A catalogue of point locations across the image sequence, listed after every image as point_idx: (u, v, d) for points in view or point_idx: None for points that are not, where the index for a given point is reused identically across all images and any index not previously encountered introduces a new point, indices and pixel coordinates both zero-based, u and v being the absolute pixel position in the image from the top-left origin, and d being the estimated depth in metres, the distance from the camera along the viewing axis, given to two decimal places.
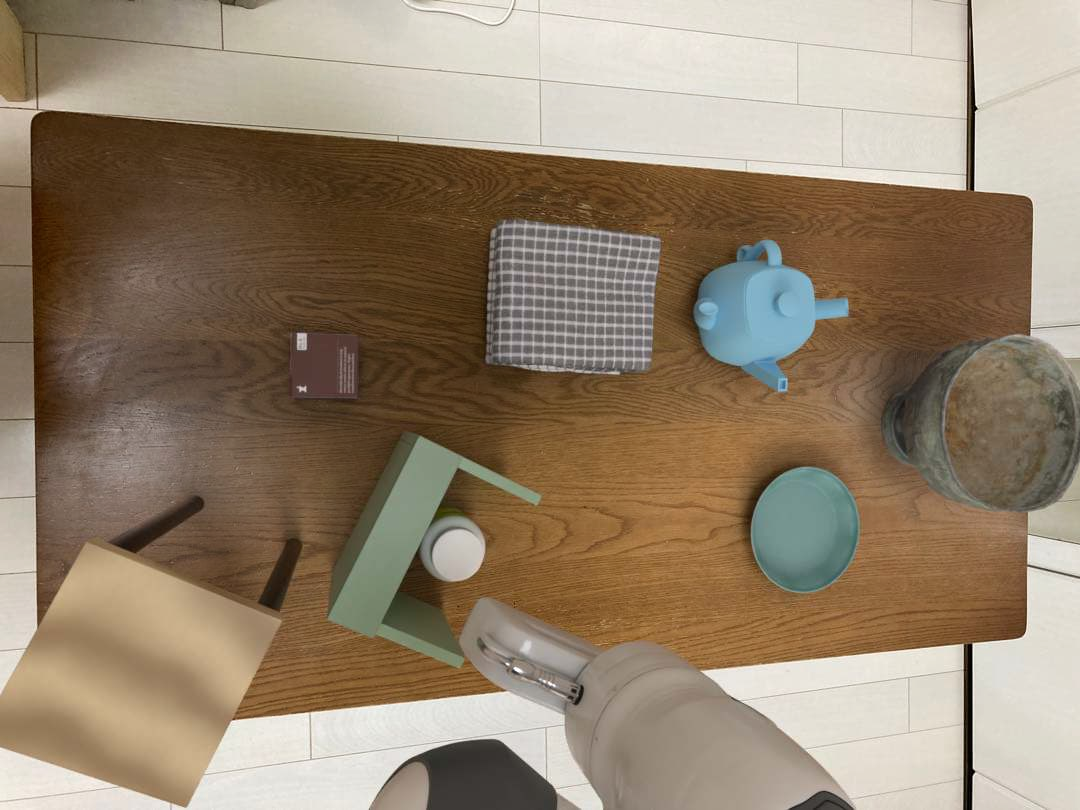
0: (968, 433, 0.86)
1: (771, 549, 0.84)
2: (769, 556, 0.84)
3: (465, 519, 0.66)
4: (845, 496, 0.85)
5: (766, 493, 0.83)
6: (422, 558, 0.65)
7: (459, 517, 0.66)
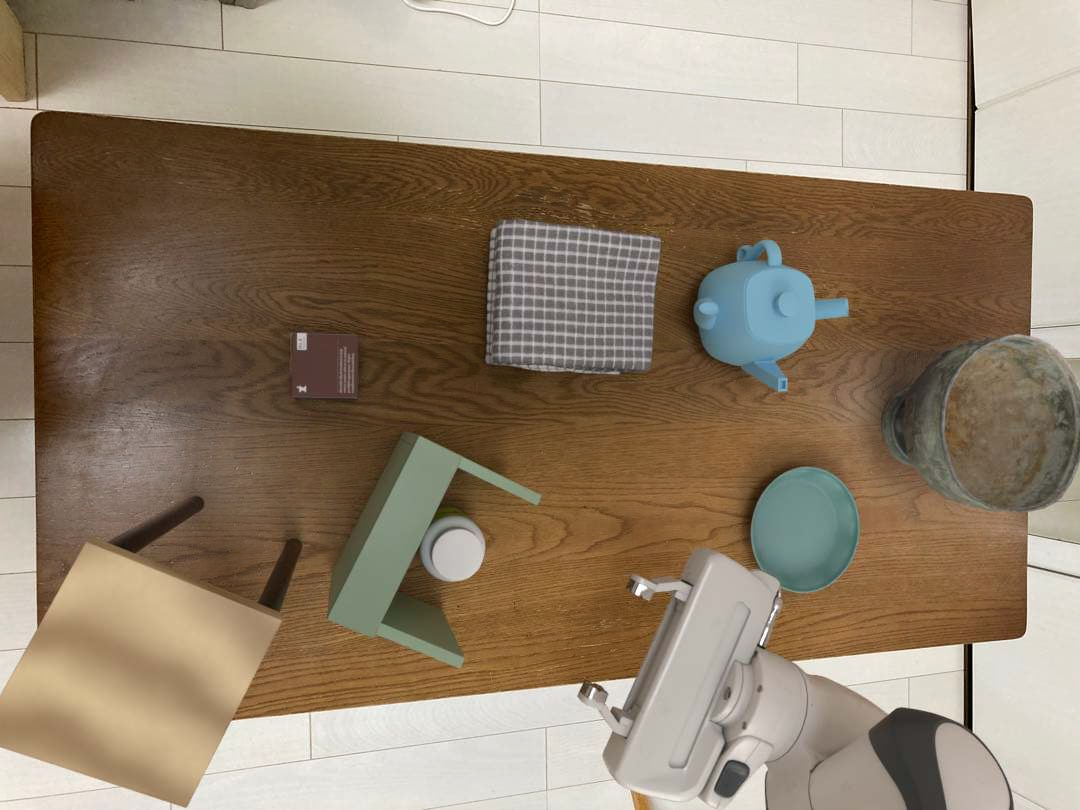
0: (968, 433, 0.86)
1: (771, 549, 0.84)
2: (769, 556, 0.84)
3: (465, 519, 0.66)
4: (845, 496, 0.85)
5: (766, 493, 0.83)
6: (422, 558, 0.65)
7: (459, 517, 0.66)
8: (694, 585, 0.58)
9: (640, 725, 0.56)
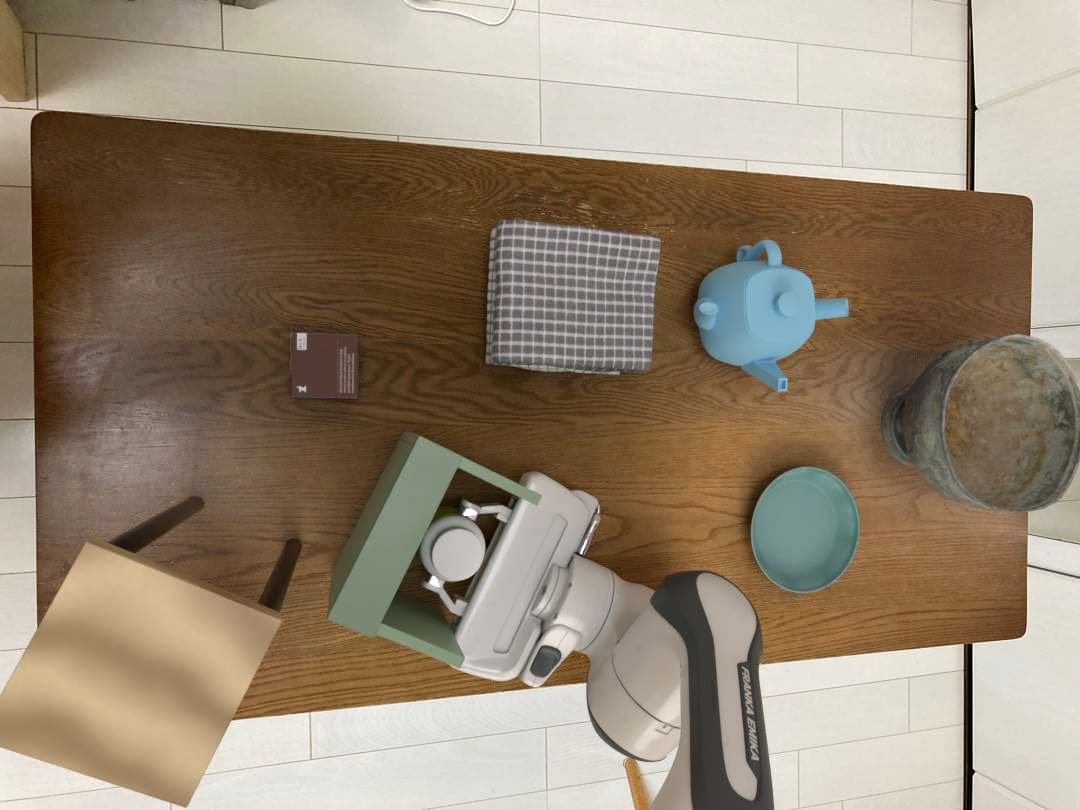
0: (968, 433, 0.86)
1: (771, 549, 0.84)
2: (769, 556, 0.84)
3: (465, 519, 0.66)
4: (845, 496, 0.85)
5: (766, 493, 0.83)
6: (422, 558, 0.65)
7: (459, 517, 0.66)
8: (517, 500, 0.69)
9: (467, 615, 0.67)
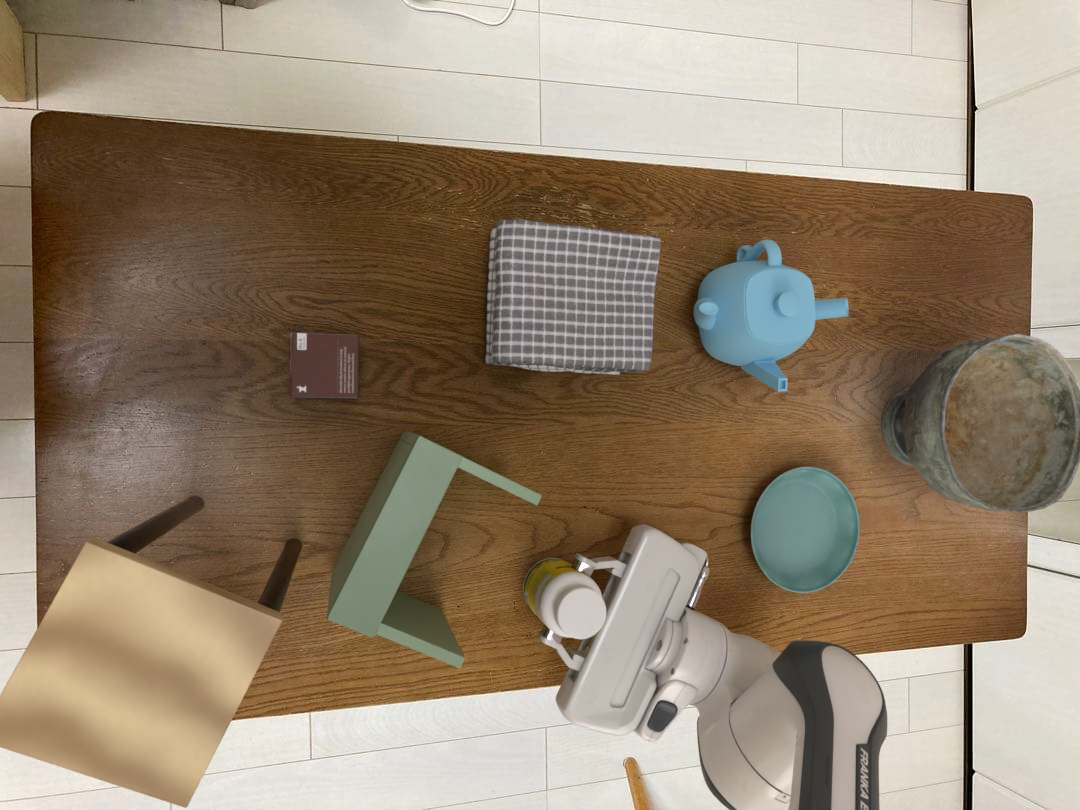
0: (968, 433, 0.86)
1: (771, 549, 0.84)
2: (769, 556, 0.84)
3: (584, 575, 0.67)
4: (845, 496, 0.85)
5: (766, 493, 0.83)
6: (543, 615, 0.66)
7: (578, 574, 0.67)
8: (632, 555, 0.69)
9: (585, 671, 0.68)
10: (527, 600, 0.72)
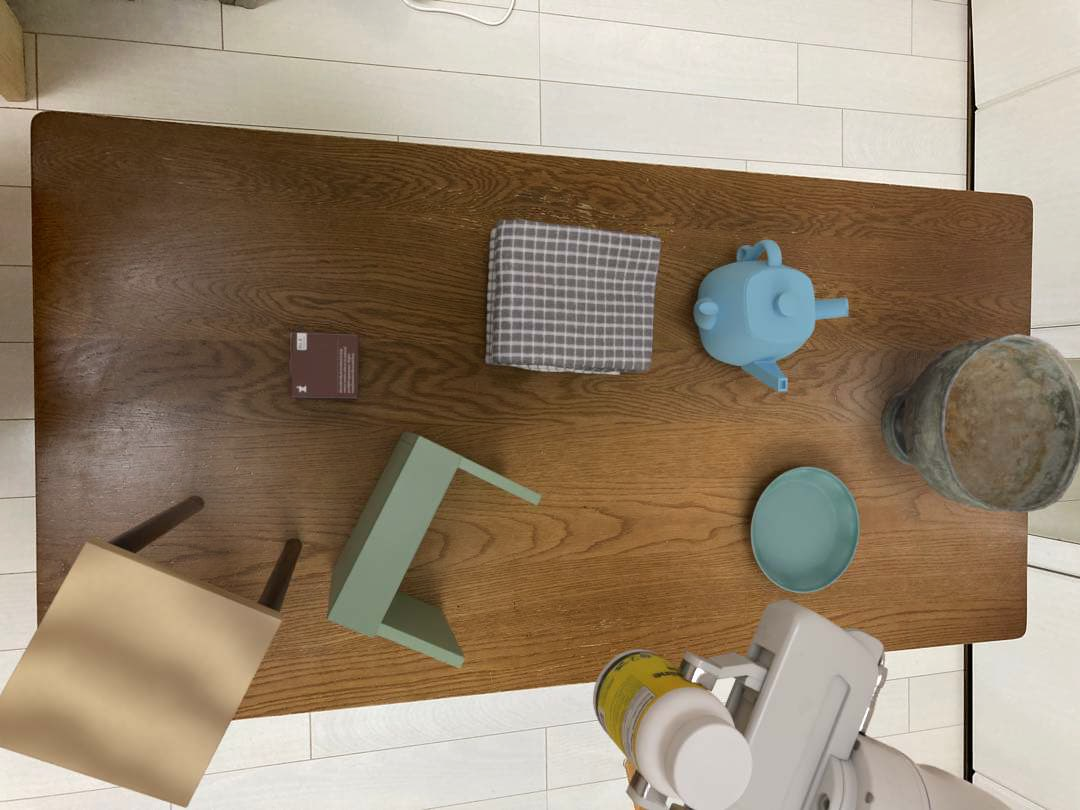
0: (968, 433, 0.86)
1: (771, 549, 0.84)
2: (769, 556, 0.84)
3: (707, 694, 0.41)
4: (845, 496, 0.85)
5: (766, 493, 0.83)
6: (642, 764, 0.40)
7: (697, 691, 0.41)
8: (776, 654, 0.43)
9: None
10: (603, 722, 0.45)
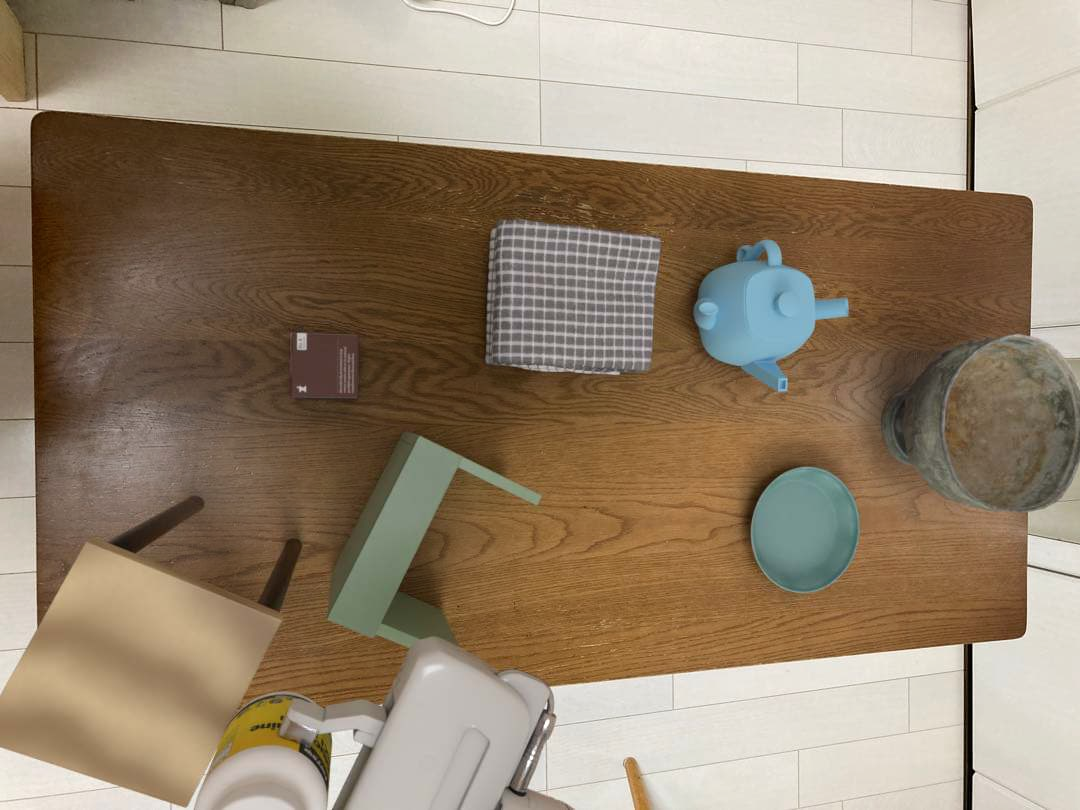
0: (968, 433, 0.86)
1: (771, 549, 0.84)
2: (769, 556, 0.84)
3: (285, 755, 0.34)
4: (845, 496, 0.85)
5: (766, 493, 0.83)
6: None
7: (273, 751, 0.34)
8: (395, 704, 0.37)
9: None
10: None
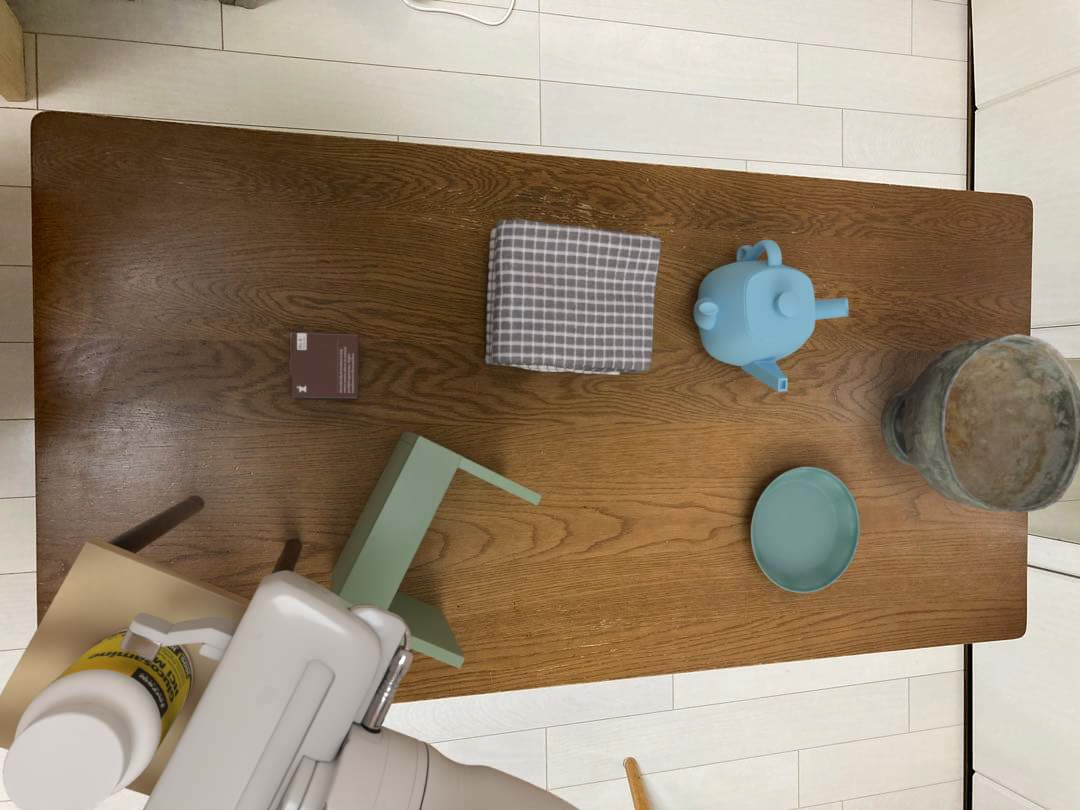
0: (968, 433, 0.86)
1: (771, 549, 0.84)
2: (769, 556, 0.84)
3: (113, 678, 0.34)
4: (845, 496, 0.85)
5: (766, 493, 0.83)
6: None
7: (101, 674, 0.34)
8: (233, 634, 0.36)
9: None
10: None
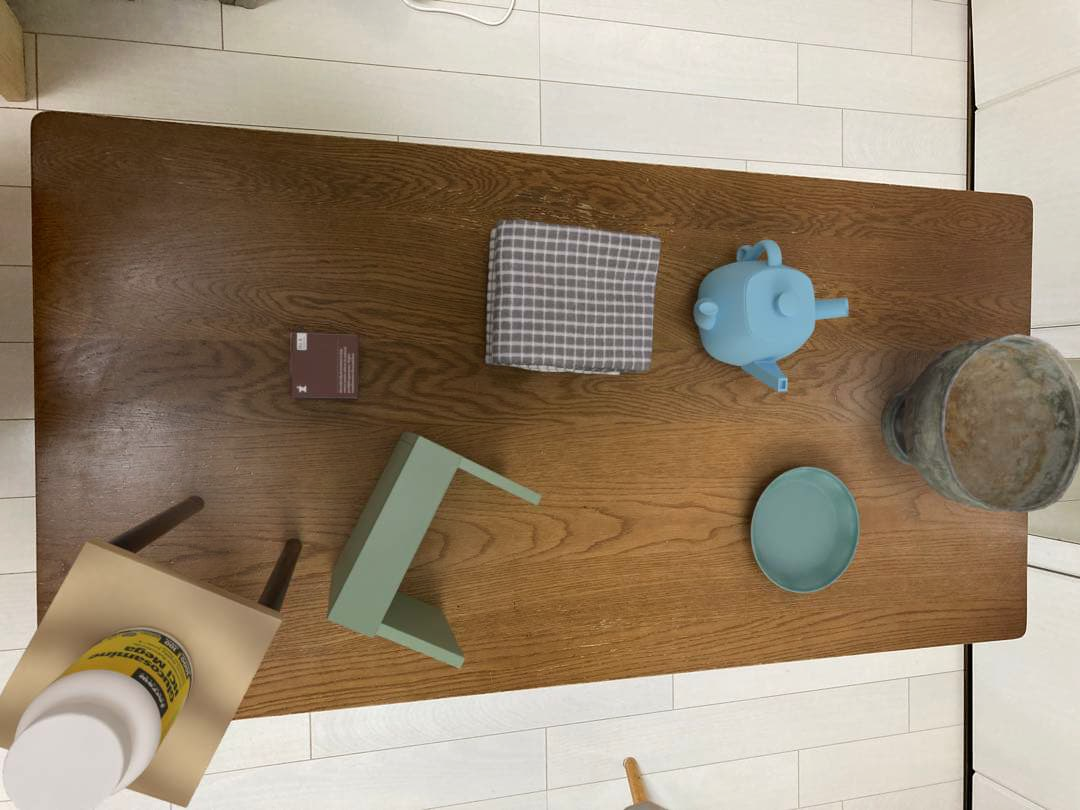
0: (968, 433, 0.86)
1: (771, 549, 0.84)
2: (769, 556, 0.84)
3: (113, 679, 0.34)
4: (845, 496, 0.85)
5: (766, 493, 0.83)
6: None
7: (101, 675, 0.34)
8: None
9: None
10: None
